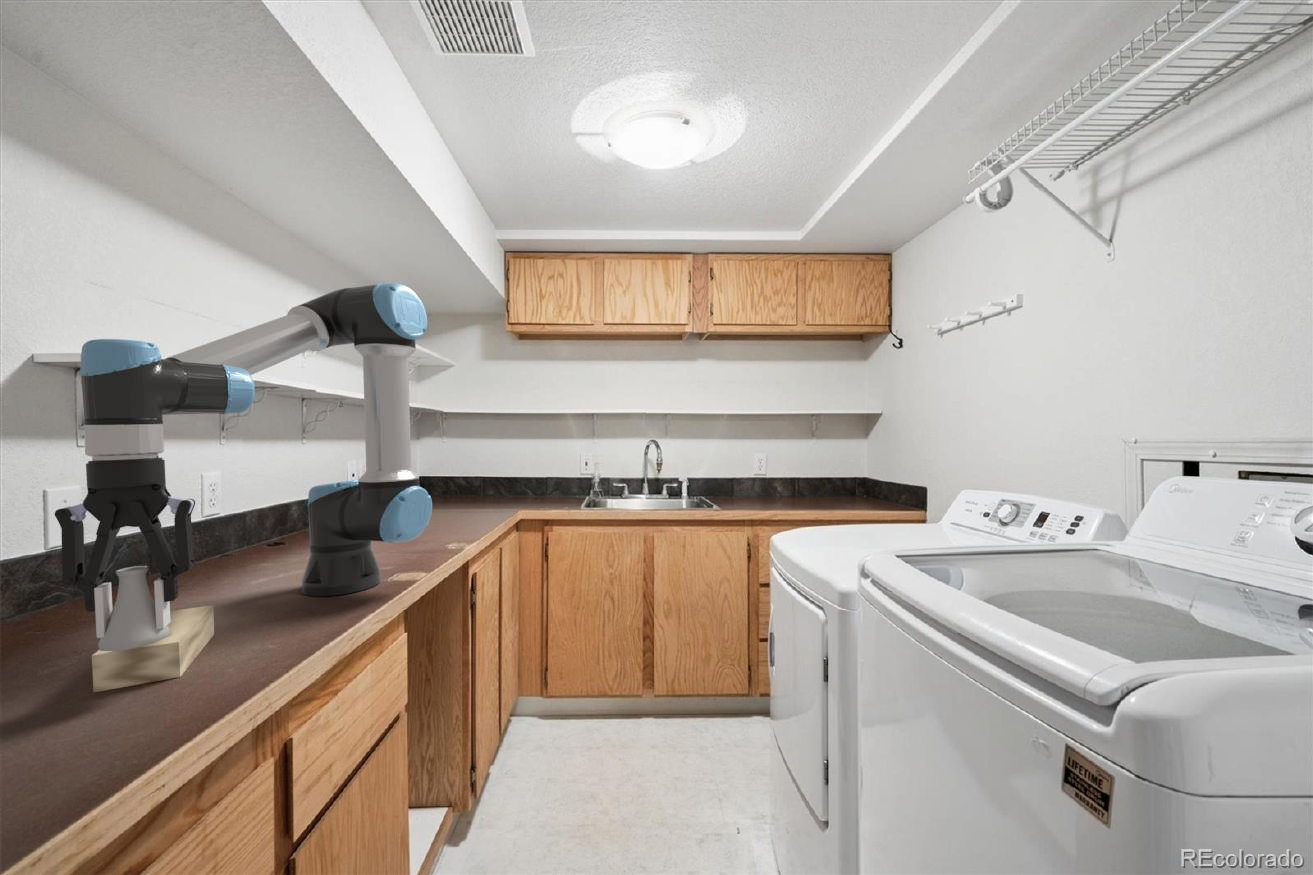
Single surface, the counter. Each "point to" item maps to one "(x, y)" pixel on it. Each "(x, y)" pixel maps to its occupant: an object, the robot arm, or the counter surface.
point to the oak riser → (156, 653)
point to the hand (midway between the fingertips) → (135, 629)
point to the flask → (132, 614)
